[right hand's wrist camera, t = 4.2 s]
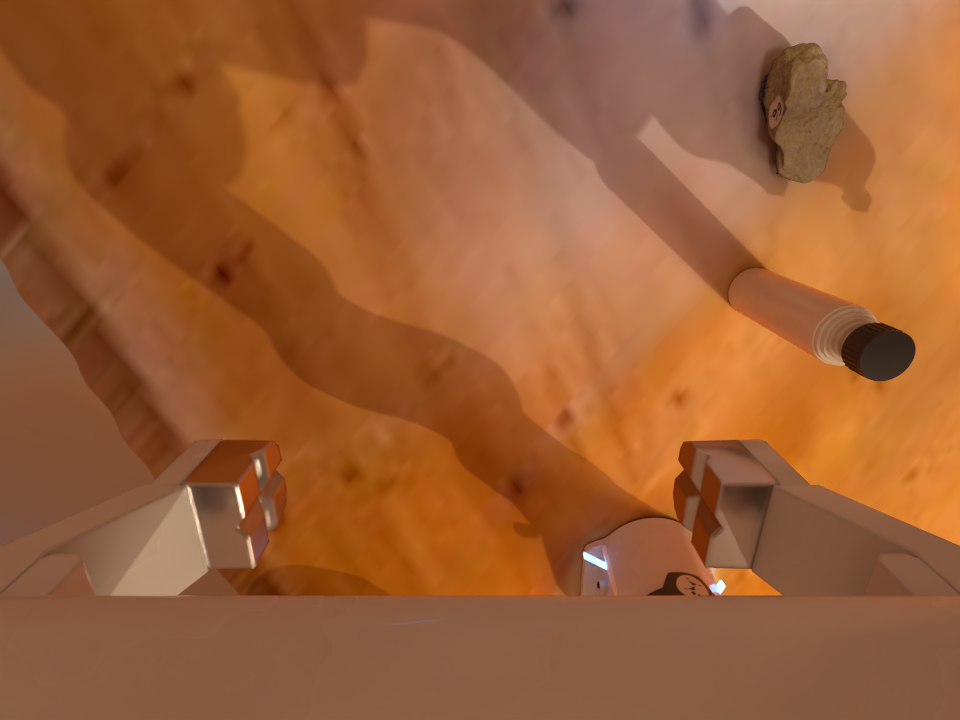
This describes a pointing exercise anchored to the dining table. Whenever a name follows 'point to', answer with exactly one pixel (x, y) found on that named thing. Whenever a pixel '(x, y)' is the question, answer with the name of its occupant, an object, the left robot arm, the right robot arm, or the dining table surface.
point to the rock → (802, 111)
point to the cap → (878, 351)
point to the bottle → (797, 312)
